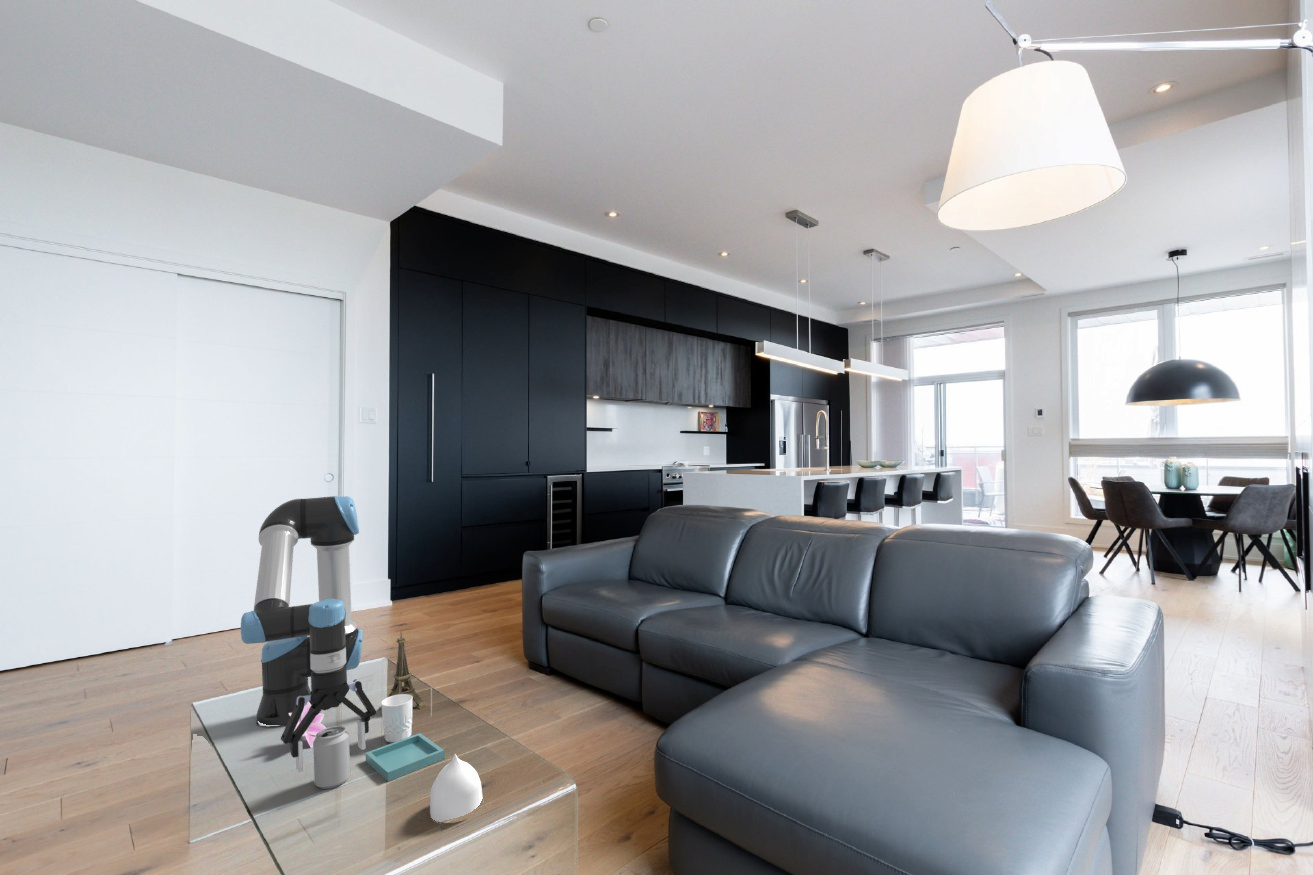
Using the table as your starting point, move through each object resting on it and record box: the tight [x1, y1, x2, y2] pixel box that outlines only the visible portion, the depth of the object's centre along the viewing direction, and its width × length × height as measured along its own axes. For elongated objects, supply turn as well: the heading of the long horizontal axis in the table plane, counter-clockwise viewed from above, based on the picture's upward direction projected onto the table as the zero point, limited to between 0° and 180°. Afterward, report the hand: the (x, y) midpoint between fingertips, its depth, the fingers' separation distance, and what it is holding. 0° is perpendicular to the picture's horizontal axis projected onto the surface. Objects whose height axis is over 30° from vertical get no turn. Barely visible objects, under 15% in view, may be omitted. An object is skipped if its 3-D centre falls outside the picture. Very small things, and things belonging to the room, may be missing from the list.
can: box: [312, 725, 351, 790], centre depth 148 cm, size 8×8×12 cm
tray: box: [365, 732, 445, 782], centre depth 157 cm, size 14×14×2 cm
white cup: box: [380, 694, 414, 743], centre depth 170 cm, size 8×8×10 cm
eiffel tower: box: [378, 632, 429, 711], centre depth 189 cm, size 11×11×25 cm
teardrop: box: [429, 753, 484, 822], centre depth 135 cm, size 11×11×12 cm
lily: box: [289, 701, 327, 748], centre depth 169 cm, size 12×12×10 cm
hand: (331, 758), depth 148 cm, fingers open, 13 cm apart
